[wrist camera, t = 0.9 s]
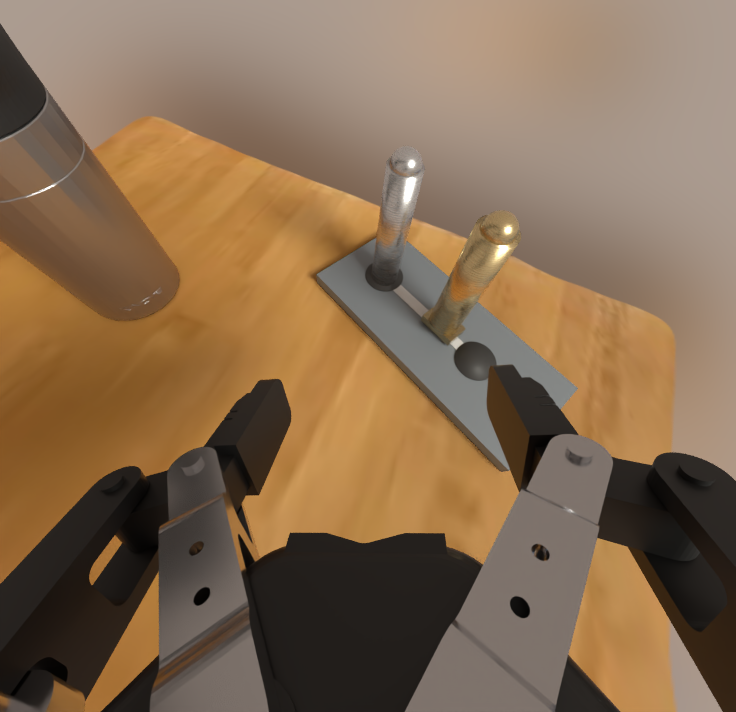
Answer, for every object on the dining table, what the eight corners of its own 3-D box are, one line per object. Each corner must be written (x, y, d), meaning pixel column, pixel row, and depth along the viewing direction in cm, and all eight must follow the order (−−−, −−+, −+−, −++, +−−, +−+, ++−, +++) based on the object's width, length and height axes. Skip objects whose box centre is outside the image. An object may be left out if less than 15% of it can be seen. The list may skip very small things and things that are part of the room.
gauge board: (317, 282, 36) (316, 273, 34) (390, 237, 40) (392, 227, 38) (501, 471, 29) (509, 470, 27) (568, 392, 33) (578, 387, 31)
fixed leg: (366, 274, 35) (380, 145, 22) (384, 261, 36) (408, 132, 23) (383, 291, 34) (408, 167, 21) (402, 277, 35) (437, 152, 22)
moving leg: (418, 322, 33) (468, 208, 20) (437, 306, 34) (498, 188, 21) (445, 348, 31) (517, 245, 19) (464, 331, 33) (546, 222, 20)
